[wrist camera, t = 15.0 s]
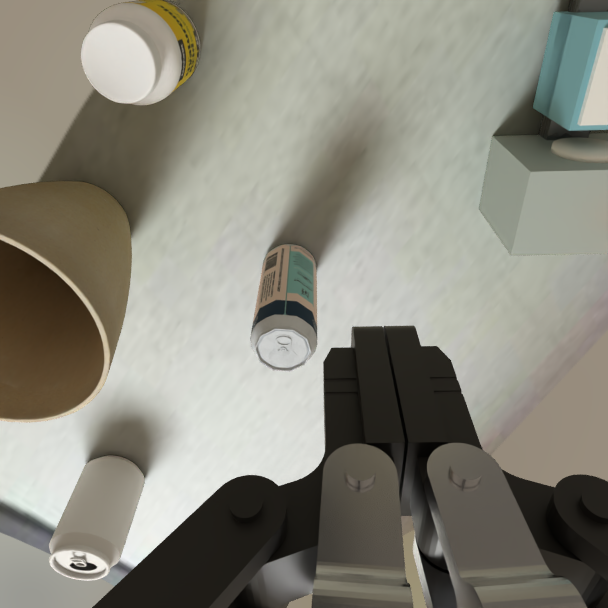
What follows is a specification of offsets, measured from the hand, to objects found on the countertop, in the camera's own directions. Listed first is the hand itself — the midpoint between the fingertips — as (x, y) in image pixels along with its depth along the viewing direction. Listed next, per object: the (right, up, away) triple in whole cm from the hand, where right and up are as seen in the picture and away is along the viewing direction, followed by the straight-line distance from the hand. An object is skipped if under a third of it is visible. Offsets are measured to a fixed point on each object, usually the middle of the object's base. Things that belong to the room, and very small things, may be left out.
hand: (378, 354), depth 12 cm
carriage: (+17, +18, +22) cm, 34 cm away
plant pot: (-21, +9, +30) cm, 37 cm away
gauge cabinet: (+18, +12, +27) cm, 34 cm away
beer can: (-3, +5, +32) cm, 33 cm away
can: (-25, -19, +49) cm, 59 cm away
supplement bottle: (-12, +20, +22) cm, 32 cm away
